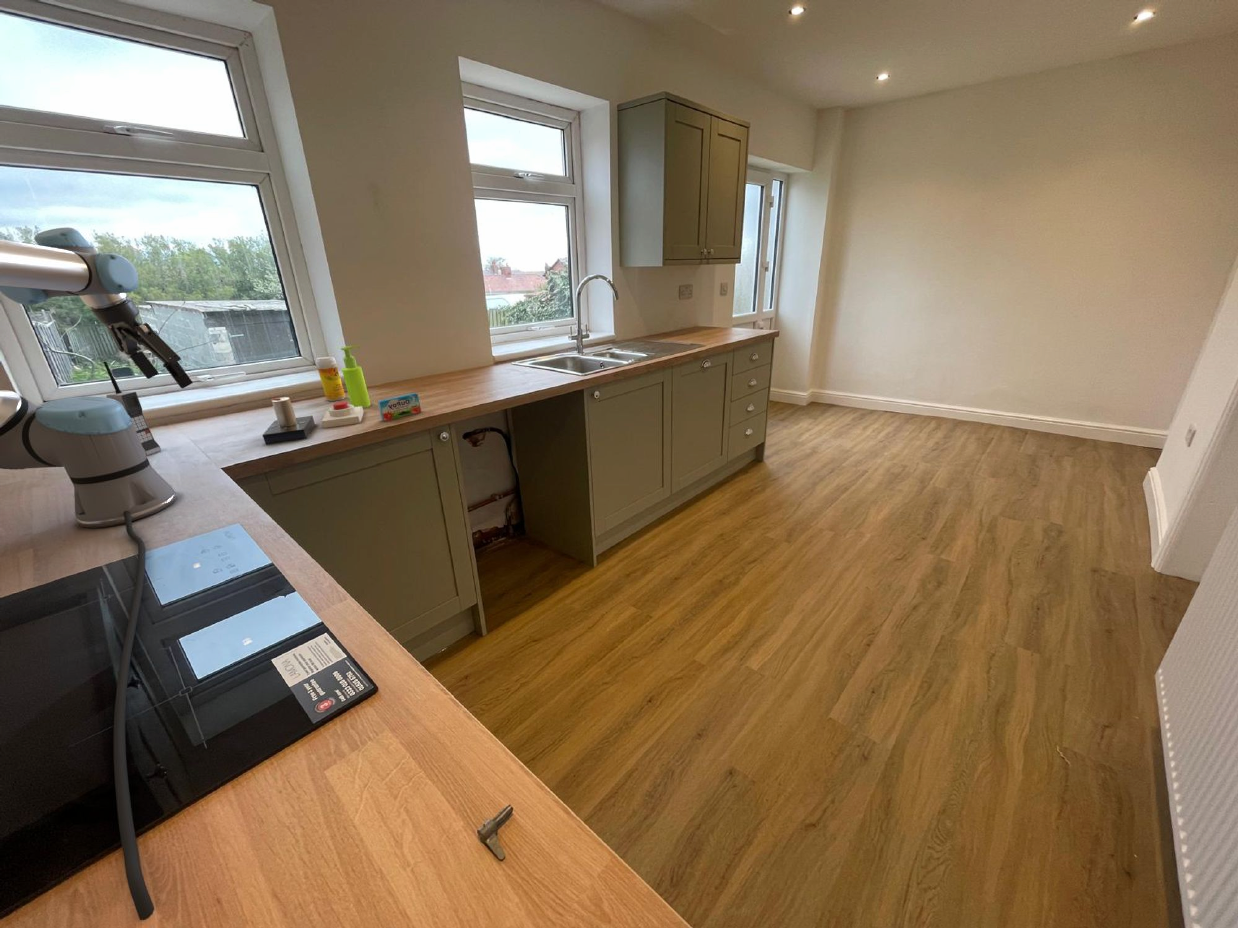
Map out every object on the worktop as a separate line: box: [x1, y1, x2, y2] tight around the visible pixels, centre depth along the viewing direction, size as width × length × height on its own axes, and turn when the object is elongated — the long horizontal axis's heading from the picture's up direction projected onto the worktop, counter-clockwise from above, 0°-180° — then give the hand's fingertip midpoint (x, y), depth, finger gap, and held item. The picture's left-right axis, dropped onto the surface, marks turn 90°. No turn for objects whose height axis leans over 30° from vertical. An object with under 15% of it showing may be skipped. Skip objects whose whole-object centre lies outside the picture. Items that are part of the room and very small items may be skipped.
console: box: [262, 415, 316, 446], centre depth 145 cm, size 14×10×3 cm
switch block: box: [321, 404, 364, 429], centre depth 156 cm, size 12×10×4 cm
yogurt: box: [377, 392, 422, 422], centre depth 156 cm, size 12×2×6 cm, turn 136°
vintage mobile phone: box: [102, 361, 162, 456], centre depth 132 cm, size 4×5×25 cm
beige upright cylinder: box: [270, 396, 297, 427], centre depth 143 cm, size 4×4×8 cm
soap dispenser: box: [340, 345, 372, 409], centre depth 167 cm, size 6×7×20 cm
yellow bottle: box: [315, 355, 346, 402], centre depth 178 cm, size 6×6×15 cm
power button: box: [332, 401, 349, 410], centre depth 155 cm, size 4×4×2 cm
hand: (170, 380), depth 129 cm, fingers open, 13 cm apart
